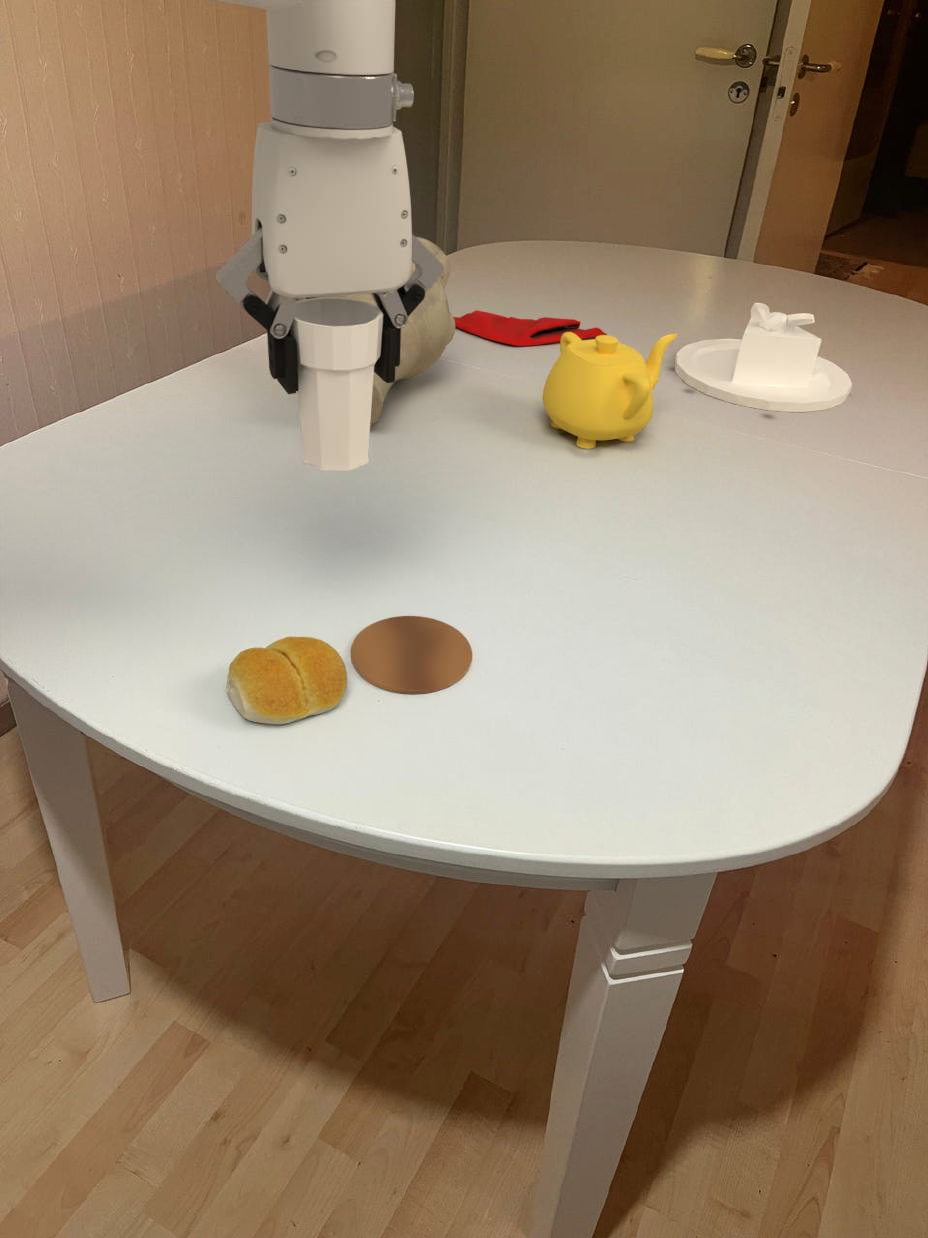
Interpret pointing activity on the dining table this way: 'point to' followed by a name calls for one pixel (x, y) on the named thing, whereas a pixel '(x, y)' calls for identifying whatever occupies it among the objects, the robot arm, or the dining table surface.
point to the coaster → (411, 654)
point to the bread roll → (286, 680)
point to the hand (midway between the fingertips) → (336, 379)
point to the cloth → (521, 328)
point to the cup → (336, 378)
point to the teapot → (602, 388)
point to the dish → (766, 366)
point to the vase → (418, 332)
